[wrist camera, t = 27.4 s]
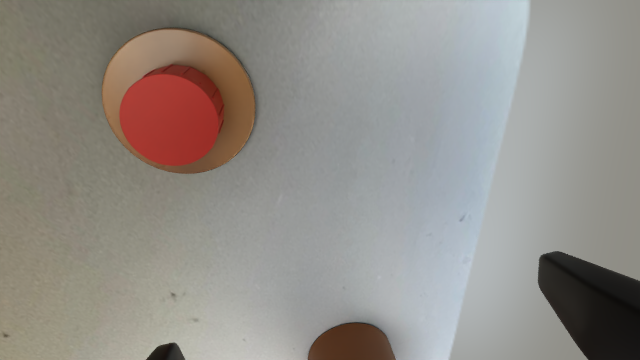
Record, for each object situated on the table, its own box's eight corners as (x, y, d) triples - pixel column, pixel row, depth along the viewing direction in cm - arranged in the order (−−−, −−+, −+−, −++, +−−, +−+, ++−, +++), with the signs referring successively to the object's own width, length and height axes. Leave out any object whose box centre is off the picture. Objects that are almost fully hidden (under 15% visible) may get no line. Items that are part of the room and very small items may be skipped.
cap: (238, 91, 18) (235, 103, 16) (203, 160, 20) (196, 181, 17) (155, 47, 17) (139, 53, 15) (124, 124, 18) (103, 141, 16)
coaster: (232, 12, 17) (231, 12, 17) (270, 152, 20) (270, 156, 20) (79, 46, 17) (73, 47, 17) (141, 183, 20) (137, 188, 20)
